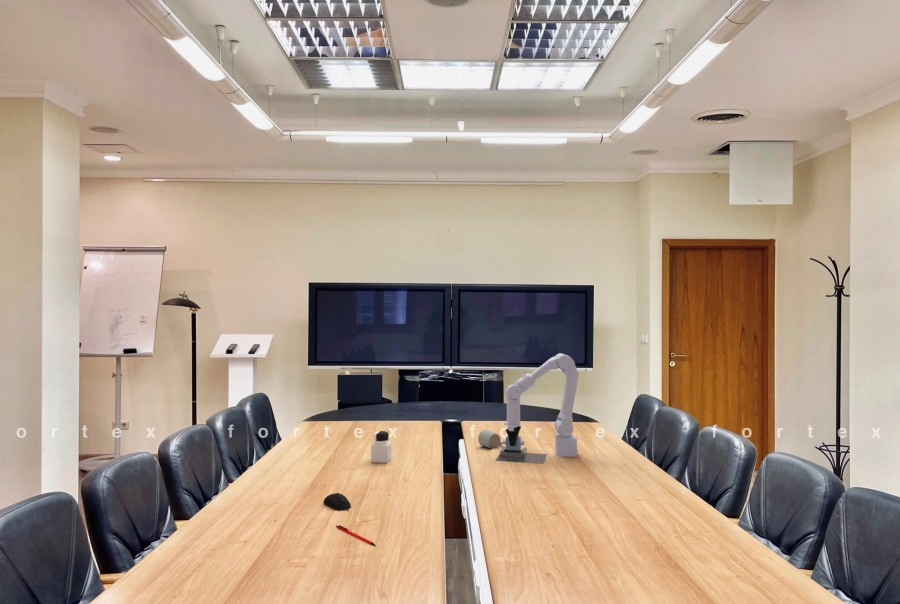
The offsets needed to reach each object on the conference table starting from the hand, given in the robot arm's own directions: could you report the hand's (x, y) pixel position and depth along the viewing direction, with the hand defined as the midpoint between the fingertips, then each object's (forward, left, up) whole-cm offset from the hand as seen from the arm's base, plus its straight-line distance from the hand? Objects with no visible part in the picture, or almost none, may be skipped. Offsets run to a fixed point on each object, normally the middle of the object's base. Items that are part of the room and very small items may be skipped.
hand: (513, 444), depth 244 cm
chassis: (-4, +3, -5) cm, 7 cm away
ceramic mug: (+12, -15, -6) cm, 20 cm away
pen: (+31, +96, -6) cm, 101 cm away
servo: (0, 0, -2) cm, 2 cm away
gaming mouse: (+46, +75, -6) cm, 88 cm away
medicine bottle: (+53, +20, -5) cm, 57 cm away
